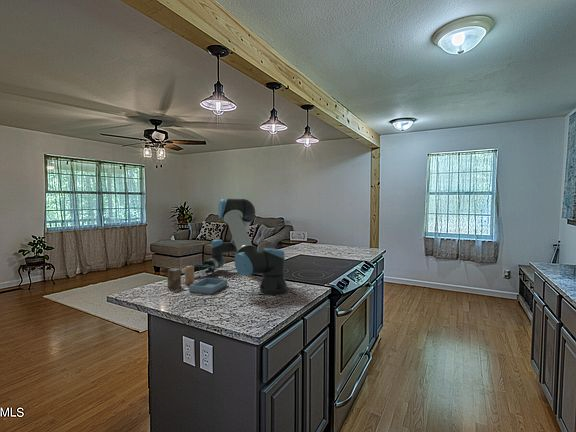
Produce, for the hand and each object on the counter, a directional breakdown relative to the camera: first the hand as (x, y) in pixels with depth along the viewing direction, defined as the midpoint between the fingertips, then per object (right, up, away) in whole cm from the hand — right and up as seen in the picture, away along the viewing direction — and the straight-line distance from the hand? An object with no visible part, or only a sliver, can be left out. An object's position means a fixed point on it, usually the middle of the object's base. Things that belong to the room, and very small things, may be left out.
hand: (192, 272), depth 189 cm
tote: (+13, -7, -13) cm, 20 cm away
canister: (-1, -6, -3) cm, 7 cm away
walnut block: (-7, -6, -11) cm, 14 cm away
